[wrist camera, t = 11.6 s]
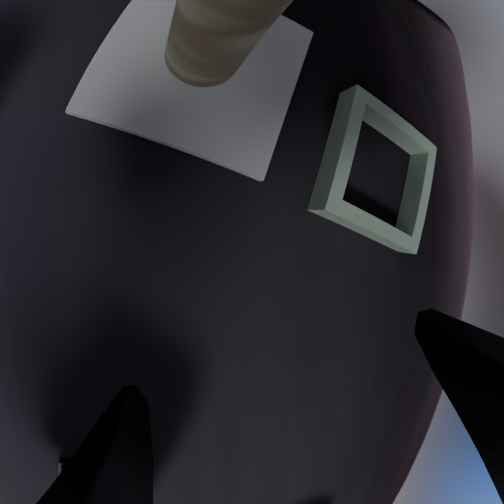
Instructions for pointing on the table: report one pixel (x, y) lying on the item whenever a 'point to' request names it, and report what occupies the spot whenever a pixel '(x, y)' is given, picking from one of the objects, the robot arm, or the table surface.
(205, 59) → the ash peg
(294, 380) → the table surface
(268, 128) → the rubber mat
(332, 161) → the green collar
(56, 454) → the table surface
